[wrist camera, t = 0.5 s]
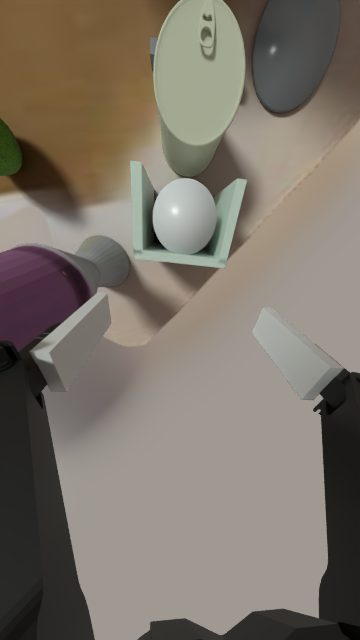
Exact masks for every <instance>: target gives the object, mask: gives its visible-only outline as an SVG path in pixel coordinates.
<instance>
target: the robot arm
mask: <svg viewBox="0 0 360 640" xmlns="http://www.w3.org/2000/svg"><path fill="white" fill-rule="evenodd" d="M110 324H111V317H110V310H109V303H108V296H107V294H105V293H96V294H95V295H94V296H93V297H92V298H91V299H89V300H88V301H87V302H86V303H85V304H84V305H83V306H81V307H80V308H79V309H78V310H77V311H76V312H74V313H73V314H72V315H71V316H70V317H69V318H68V319H66V320H65V321H64V322H63V323H57V324H55V325H52V326H50V327H49V328H47V329H46V330H45V331H44V332H42V334H40V335H39V336H37V338H35V339H34V340H32V341H31V342H30V343H29V344H28V345H26V346H25V347H24V348H23V349H21V350H20V351H19V352H18V351H17V349H16V347H15V346H14V344H13V342H10V341H0V640H95V639H94V634H93V629H92V624H91V619H90V615H89V610H88V606H87V603H86V600H85V597H84V594H83V592H82V590H81V588H80V584H79V581H78V576H77V571H76V566H75V560H74V555H73V550H72V545H71V539H70V534H69V529H68V523H67V518H66V512H65V507H64V502H63V496H62V491H61V486H60V480H59V475H58V470H57V464H56V459H55V454H54V448H53V443H52V438H51V432H50V427H49V422H48V416H47V411H46V406H45V401H44V395H43V393H42V392H41V391H42V390H43V389H44V387H45V386H46V385H48V387H49V389H50V391H51V392H67V391H68V389H69V388H70V386H71V384H72V383H73V382H74V380H75V378H76V377H77V375H78V374H79V372H80V371H81V369H82V368H83V366H84V365H85V363H86V361H87V360H88V358H89V357H90V355H91V354H92V352H93V351H94V349H95V347H96V346H97V344H98V343H99V341H100V340H101V338H102V337H103V335H104V334H105V332H106V331H107V329H108V327H109V326H110ZM252 333H253V335H254V336H255V337H256V339H257V340H258V342H259V343H260V344H261V346H262V347H263V348H264V350H265V351H266V352H267V354H268V355H269V356H270V358H271V359H272V361H273V362H274V363H275V364H276V366H277V367H278V369H279V370H280V371H281V373H282V374H283V375H284V377H285V378H286V379H287V381H288V382H289V383H290V385H291V386H292V388H293V389H294V390H295V391H296V393H297V394H298V396H299V397H300V398H301V399H302V400H314V399H315V398H316V397H317V396H318V395H319V394H320V395H321V396H322V397H323V398H324V399H323V400H322V401H321V402H320V403H319V404H318V405H317V406H316V407H315V408H314V409H313V411H314V412H316V411H317V410H318V409H320V410H321V412H320V413H319V414H320V415H321V424H322V444H323V464H324V483H325V504H326V523H327V543H328V566H327V570H326V572H325V574H324V575H323V577H322V579H321V583H320V587H319V618H315V617H312V616H308V615H304V614H301V613H297V612H293V611H290V610H286V609H276V610H265V611H255V612H252V613H250V614H249V615H248V616H247V617H245V618H244V619H243V620H242V621H240V622H239V623H238V624H237V625H236V626H234V627H233V628H232V629H231V630H229V631H228V632H227V633H226V634H224V635H218V634H216V633H214V632H212V631H210V630H208V629H206V628H204V627H201V626H200V625H198V624H195V623H193V622H191V621H189V620H187V619H185V618H184V619H173V620H163V621H153V622H151V623H150V630H149V631H148V632H147V633H145V634H144V635H142V636H141V637H140V638H139V639H138V640H360V373H356V372H351V373H350V372H348V371H347V370H346V369H345V368H343V367H342V366H341V365H340V364H339V363H338V362H336V361H335V360H334V359H333V358H332V357H330V356H329V355H328V354H326V353H325V352H324V351H323V350H322V349H320V348H319V347H318V346H317V345H316V344H314V343H313V342H312V341H310V340H309V339H308V338H307V337H306V336H304V335H303V334H302V333H301V332H300V331H298V330H297V329H296V328H294V326H292V325H291V324H290V323H289V322H288V321H286V320H285V319H284V318H283V317H282V316H280V315H279V314H278V313H277V312H276V311H274V310H273V309H272V308H263V310H262V312H261V314H260V317H259V319H258V321H257V324H256V326H255V328H254V330H253V332H252Z"/></svg>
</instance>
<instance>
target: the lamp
mask: <svg viewBox="0 0 360 640" xmlns="http://www.w3.org/2000/svg"><path fill="white" fill-rule="evenodd" d="M129 269H130V265H129V260H128V257H127V254H126V253H125V251H124V249H123V248H122V247H121V246H120V245H119V244H118V243H117V242H116V241H114V240H113V239H111V238H108V237H105V236H92V237H90V238H88V239H86V240H85V241H84V242H83V243H82V245H81V246H80V248H79V249H78V251H77V252H76V253H75V255H73V254H70V253H67V252H64V251H61V250H58V249H55V248H52V247H49V246H46V245H42V244H37V243H26V244H21V245H17V246H15V247H13V248H12V249H10V250H8V251H5V252H2V253H0V341H10V342H13V344H14V346H15V347H16V349H17V351H18V352H19V351H20V350H21V349H23V348H24V347H25V346H26V345H28V344H29V343H30V342H31V341H32V340H34V339H35V338H37V336H39V335H40V334H42V332H44V331H45V330H46V329H47V328H49V327H50V326H52V325H55V324H57V323H63V322H64V321H65V320H66V319H68V318H69V317H70V316H71V315H72V314H73V313H74V312H76V311H77V310H78V309H79V308H80V307H81V306H83V305H84V304H85V303H86V302H87V301H88V300H89V299H91V298H92V297H93V296H94V295H95V294H96V293H97V288H98V287H111V286H117V285H119V284H121V283H122V282H124V281H125V279H126V278H127V276H128V274H129Z"/></svg>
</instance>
